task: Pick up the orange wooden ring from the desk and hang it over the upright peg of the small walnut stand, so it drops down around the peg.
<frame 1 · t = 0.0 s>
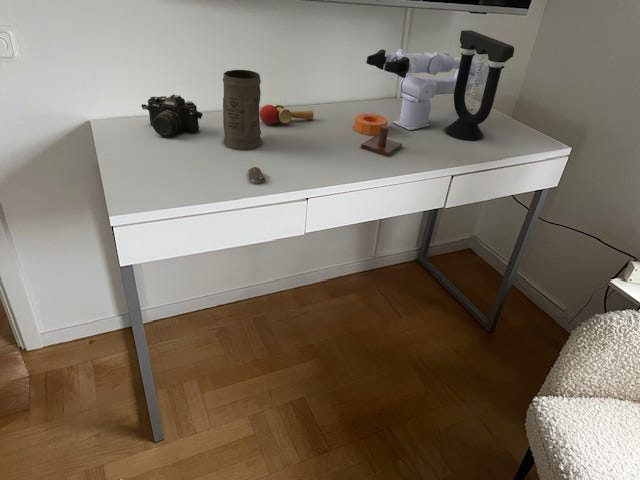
hand: (376, 63, 143), 22 cm above the table, tool horizontal, fingers open, 7 cm apart
film camera: (172, 131, 146), on the table
beer stein: (245, 140, 145), on the table
spring support: (465, 135, 162), on the table
kendama: (286, 122, 159), on the table
block: (255, 179, 125), on the table
stand: (381, 147, 147), on the table
ring: (370, 129, 160), on the table
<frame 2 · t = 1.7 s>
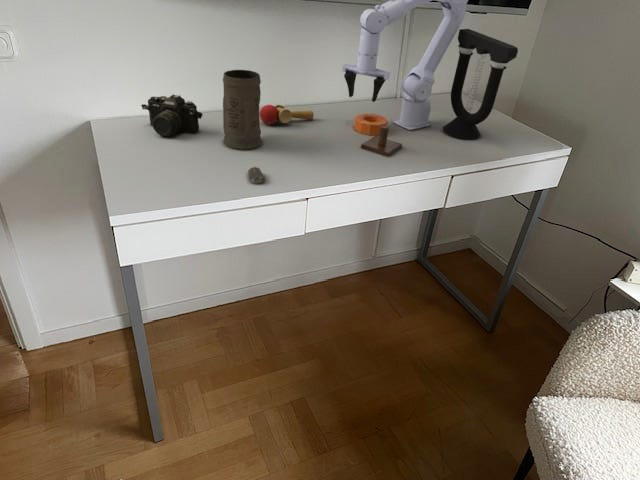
hand: (362, 98, 156), 9 cm above the table, tool pointing down, fingers open, 7 cm apart
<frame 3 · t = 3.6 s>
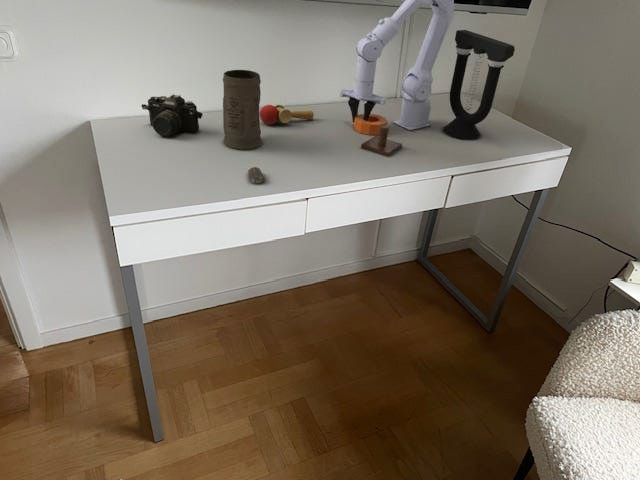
hand: (359, 122, 160), 1 cm above the table, tool pointing down, fingers closed on ring, 3 cm apart
ring: (369, 129, 160), on the table, touching gripper
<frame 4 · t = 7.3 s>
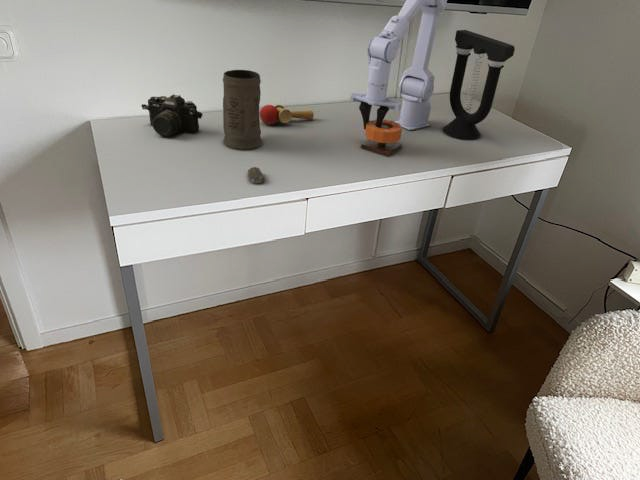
hand: (371, 129, 146), 5 cm above the table, tool pointing down, fingers closed on ring, 3 cm apart
ring: (382, 136, 146), point 3 cm above the table, touching gripper
everything else where it was.
when the fingers open (7 cm above the table, at t = 14.9 s): ring drops 5 cm, resting on stand.
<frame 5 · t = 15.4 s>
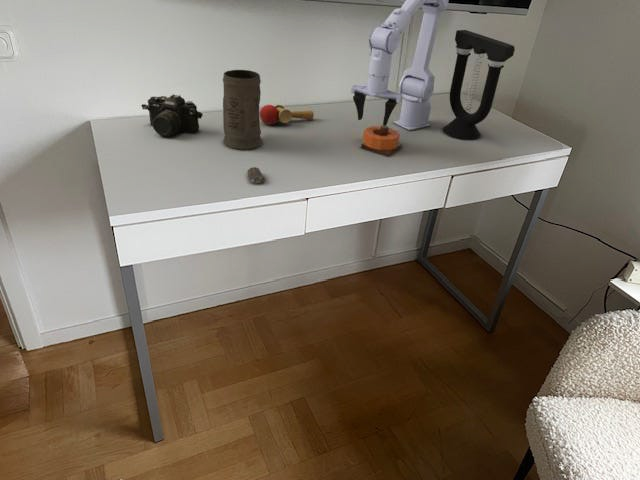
hand: (372, 121, 145), 7 cm above the table, tool pointing down, fingers open, 7 cm apart
ring: (380, 143, 147), point 1 cm above the table, touching stand
everything else where it was.
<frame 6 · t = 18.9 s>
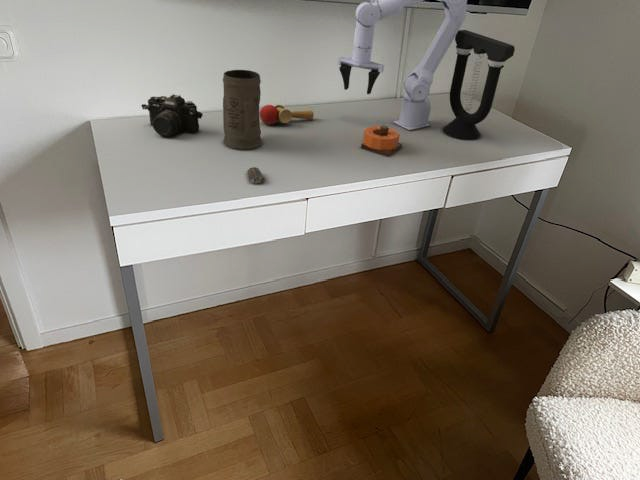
hand: (357, 91, 158), 10 cm above the table, tool pointing down, fingers open, 7 cm apart
nothing on the table moved.
at the end: ring 0.7 cm from the stand (horizontally); ring point 1.2 cm above the table; the gripper is holding nothing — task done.
